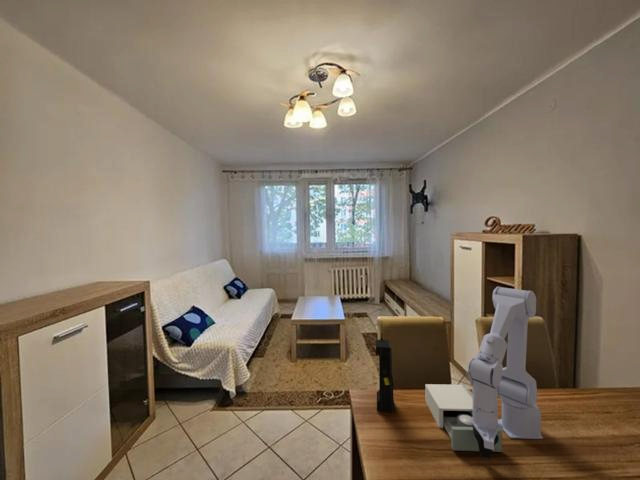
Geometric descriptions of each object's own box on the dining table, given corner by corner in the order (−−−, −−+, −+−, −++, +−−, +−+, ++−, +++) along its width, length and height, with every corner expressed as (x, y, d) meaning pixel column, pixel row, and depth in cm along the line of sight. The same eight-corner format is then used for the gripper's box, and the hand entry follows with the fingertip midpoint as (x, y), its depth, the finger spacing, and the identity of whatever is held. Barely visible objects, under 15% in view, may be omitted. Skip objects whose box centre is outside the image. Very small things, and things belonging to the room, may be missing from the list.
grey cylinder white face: (472, 427, 87) (472, 414, 87) (481, 440, 81) (481, 426, 81) (454, 426, 87) (454, 413, 87) (461, 439, 82) (461, 425, 82)
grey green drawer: (477, 419, 91) (477, 401, 91) (501, 451, 78) (501, 430, 78) (436, 418, 92) (436, 400, 92) (452, 450, 79) (452, 429, 79)
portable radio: (395, 415, 95) (394, 341, 94) (376, 413, 96) (375, 340, 95) (393, 401, 102) (392, 333, 102) (376, 399, 104) (375, 332, 103)
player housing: (465, 401, 101) (464, 384, 101) (485, 428, 87) (485, 409, 87) (425, 400, 102) (425, 384, 102) (439, 427, 88) (439, 408, 88)
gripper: (509, 427, 66) (509, 484, 66) (497, 394, 79) (497, 441, 79) (474, 420, 68) (474, 474, 69) (469, 388, 82) (469, 434, 82)
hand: (484, 456), depth 74 cm, fingers closed
